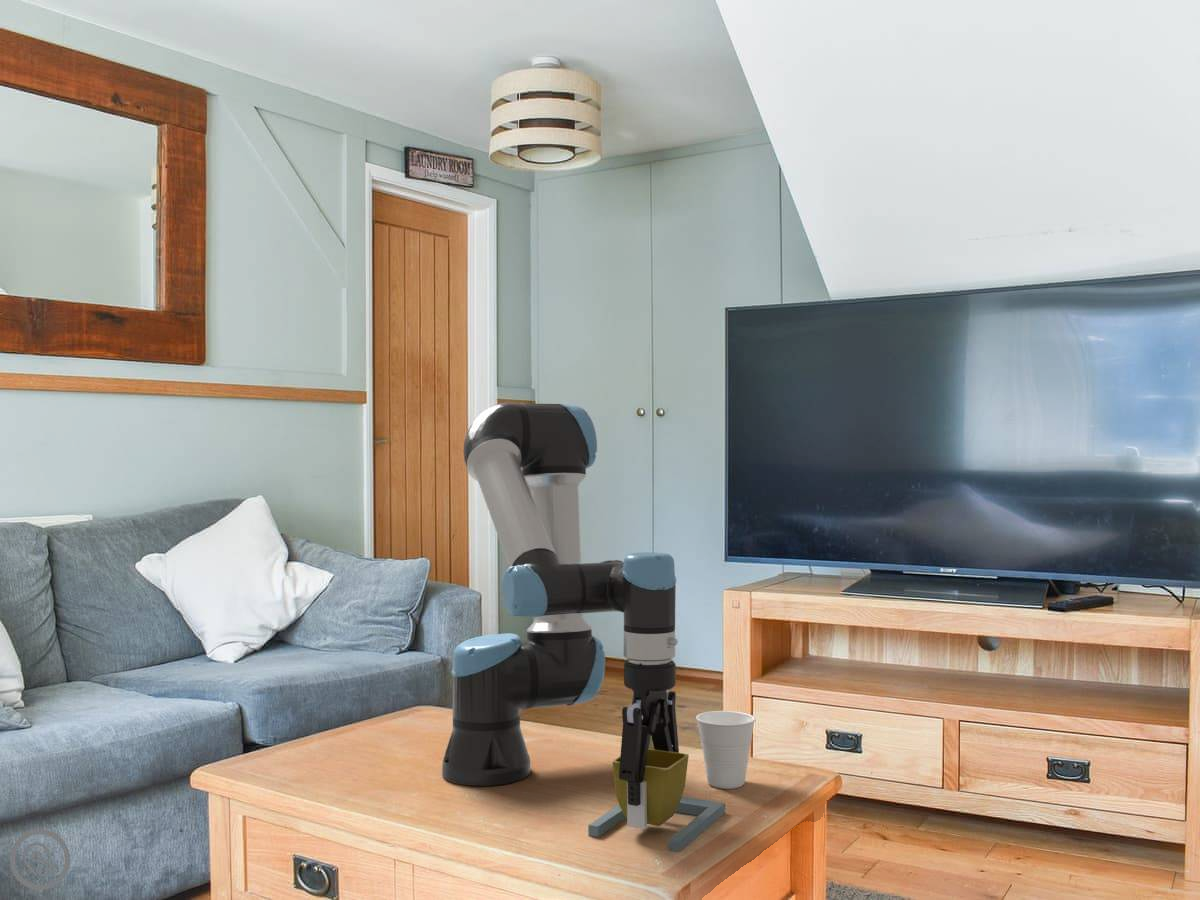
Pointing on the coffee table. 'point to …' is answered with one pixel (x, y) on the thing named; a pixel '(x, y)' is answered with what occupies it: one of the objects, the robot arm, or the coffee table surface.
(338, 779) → the coffee table surface
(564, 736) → the coffee table surface
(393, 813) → the coffee table surface
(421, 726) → the coffee table surface
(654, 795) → the flower pot
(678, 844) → the blue-grey u-shaped bracket
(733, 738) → the cup
